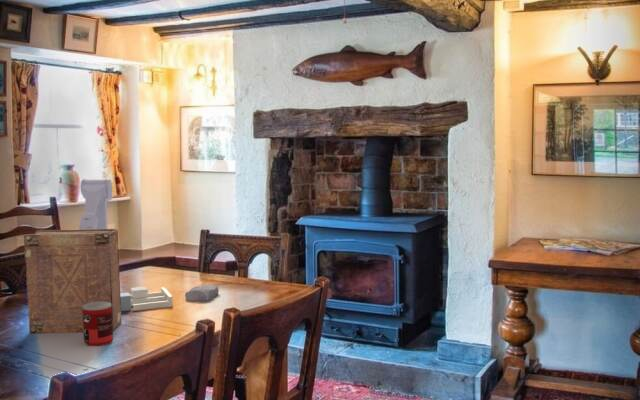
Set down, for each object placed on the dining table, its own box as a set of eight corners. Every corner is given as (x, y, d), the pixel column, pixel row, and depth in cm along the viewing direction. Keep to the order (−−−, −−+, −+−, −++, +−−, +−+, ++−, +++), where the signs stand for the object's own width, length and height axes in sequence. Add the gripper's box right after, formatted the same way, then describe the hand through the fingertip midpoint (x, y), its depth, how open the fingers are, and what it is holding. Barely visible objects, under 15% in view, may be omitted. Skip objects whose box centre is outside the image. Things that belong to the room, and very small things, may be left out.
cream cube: (131, 301, 236) (130, 287, 236) (145, 300, 238) (145, 286, 238) (133, 304, 232) (132, 290, 231) (148, 303, 233) (147, 289, 233)
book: (28, 333, 199) (22, 234, 196) (40, 324, 208) (35, 230, 205) (113, 331, 200) (108, 233, 197) (121, 322, 209) (117, 228, 206)
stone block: (184, 306, 236) (210, 301, 234) (181, 292, 236) (207, 288, 234) (196, 299, 248) (221, 294, 246) (193, 286, 248) (218, 281, 246)
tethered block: (85, 311, 223) (84, 295, 223) (129, 306, 229) (128, 291, 228) (86, 315, 219) (85, 298, 218) (131, 310, 224) (130, 294, 224)
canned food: (88, 338, 193) (86, 301, 192) (116, 337, 194) (114, 300, 193) (80, 347, 186) (78, 308, 184) (110, 345, 186) (108, 307, 185)
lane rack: (127, 300, 237) (127, 291, 237) (164, 296, 242) (164, 287, 242) (133, 310, 223) (133, 300, 223) (172, 306, 228) (172, 296, 228)
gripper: (64, 272, 213) (66, 313, 215) (111, 268, 219) (113, 308, 220) (63, 268, 220) (65, 308, 221) (108, 264, 225) (110, 303, 227)
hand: (89, 308), depth 221 cm, fingers closed on tethered block, 2 cm apart
